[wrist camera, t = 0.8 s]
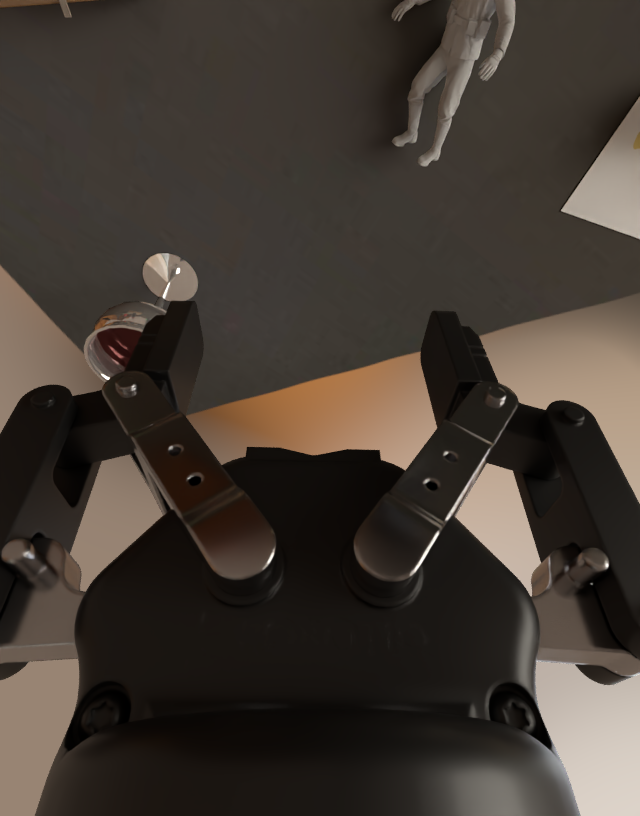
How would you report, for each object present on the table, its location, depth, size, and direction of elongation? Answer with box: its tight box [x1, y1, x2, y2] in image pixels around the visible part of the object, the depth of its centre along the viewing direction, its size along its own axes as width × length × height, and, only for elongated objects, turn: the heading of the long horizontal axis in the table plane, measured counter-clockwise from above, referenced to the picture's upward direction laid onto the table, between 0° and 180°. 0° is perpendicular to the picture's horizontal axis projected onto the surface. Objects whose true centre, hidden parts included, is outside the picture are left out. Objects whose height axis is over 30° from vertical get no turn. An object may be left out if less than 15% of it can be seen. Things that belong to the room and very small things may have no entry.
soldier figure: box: [392, 0, 515, 166], centre depth 27 cm, size 8×5×12 cm
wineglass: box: [84, 253, 198, 382], centre depth 36 cm, size 7×7×12 cm
